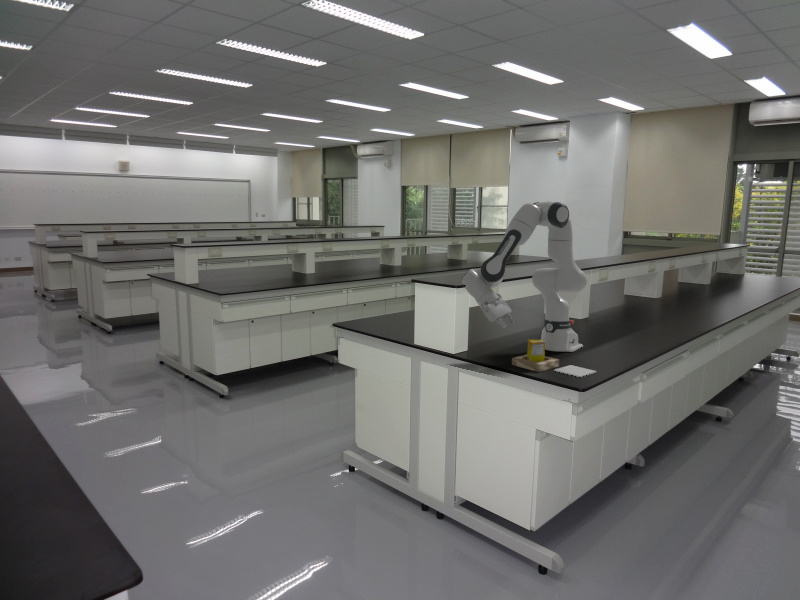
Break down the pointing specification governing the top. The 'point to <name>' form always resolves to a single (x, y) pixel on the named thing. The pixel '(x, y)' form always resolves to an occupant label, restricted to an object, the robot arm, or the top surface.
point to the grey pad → (575, 371)
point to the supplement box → (536, 350)
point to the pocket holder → (535, 363)
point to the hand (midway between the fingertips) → (509, 325)
